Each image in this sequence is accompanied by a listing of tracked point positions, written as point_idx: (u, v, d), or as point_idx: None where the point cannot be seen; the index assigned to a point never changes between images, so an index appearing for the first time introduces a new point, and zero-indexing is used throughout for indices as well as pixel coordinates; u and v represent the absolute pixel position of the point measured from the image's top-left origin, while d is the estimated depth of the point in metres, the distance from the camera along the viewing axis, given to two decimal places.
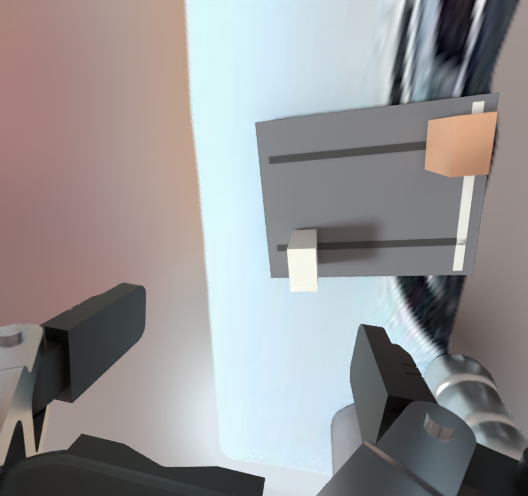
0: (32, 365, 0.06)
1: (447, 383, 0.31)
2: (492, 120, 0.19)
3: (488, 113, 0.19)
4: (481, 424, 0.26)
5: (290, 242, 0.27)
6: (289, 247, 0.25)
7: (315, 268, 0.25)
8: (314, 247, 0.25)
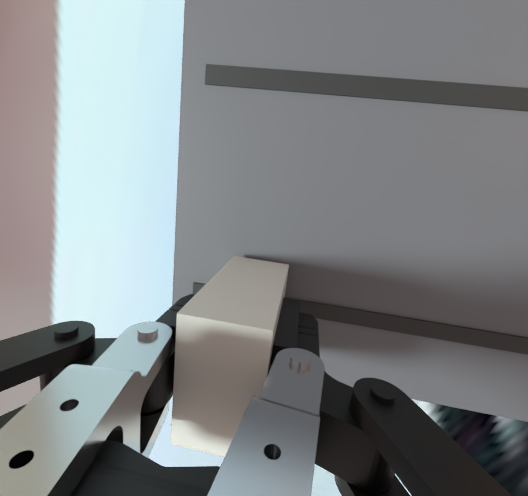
0: (149, 369, 0.06)
1: None
2: None
3: None
4: None
5: (206, 288, 0.09)
6: (190, 306, 0.08)
7: None
8: (269, 325, 0.07)
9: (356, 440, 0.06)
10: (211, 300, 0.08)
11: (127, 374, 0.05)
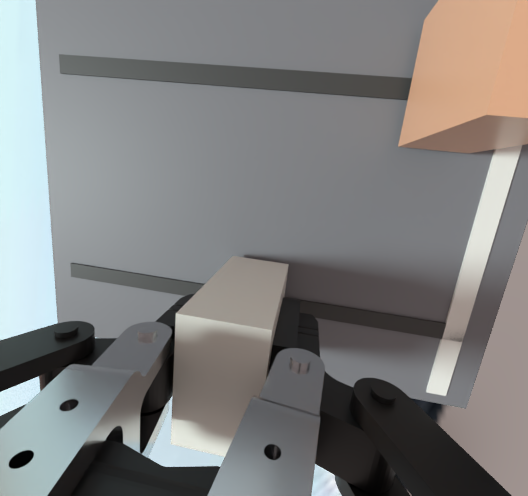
0: (149, 369, 0.06)
1: None
2: None
3: None
4: None
5: (205, 288, 0.09)
6: (189, 306, 0.08)
7: (259, 394, 0.07)
8: (268, 324, 0.07)
9: (356, 440, 0.06)
10: (210, 300, 0.08)
11: (127, 374, 0.05)
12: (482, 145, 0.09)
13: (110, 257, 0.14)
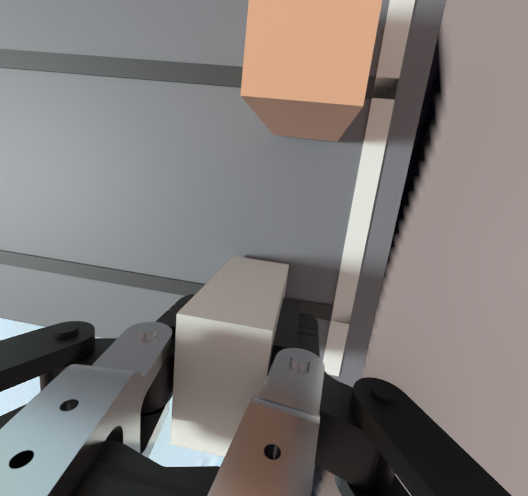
0: (150, 369, 0.06)
1: None
2: None
3: None
4: None
5: (206, 288, 0.09)
6: (190, 306, 0.08)
7: None
8: (269, 325, 0.07)
9: (356, 440, 0.06)
10: (211, 300, 0.08)
11: (127, 374, 0.05)
12: (323, 131, 0.09)
13: (24, 243, 0.15)
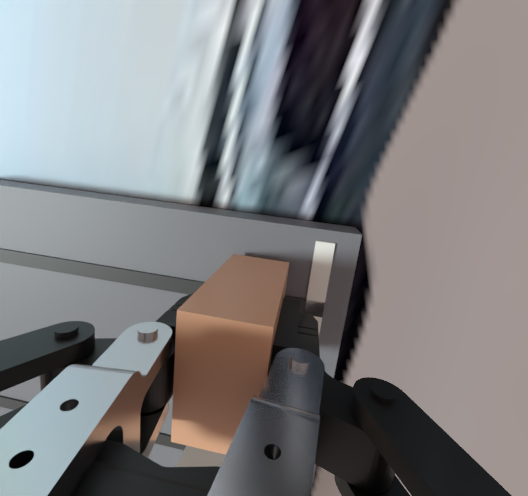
0: (149, 369, 0.06)
1: None
2: (261, 344, 0.07)
3: (251, 325, 0.07)
4: None
5: None
6: None
7: None
8: None
9: (356, 440, 0.06)
10: None
11: (127, 374, 0.05)
12: None
13: (18, 391, 0.17)
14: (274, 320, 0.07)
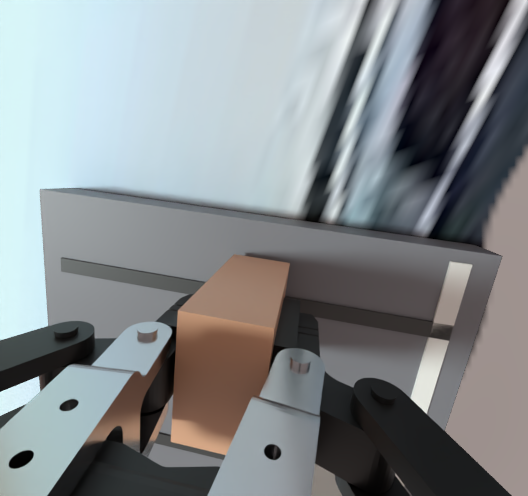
0: (149, 369, 0.06)
1: None
2: (262, 345, 0.07)
3: (252, 326, 0.07)
4: None
5: None
6: None
7: None
8: None
9: (356, 440, 0.06)
10: None
11: (127, 374, 0.05)
12: None
13: None
14: (275, 321, 0.07)
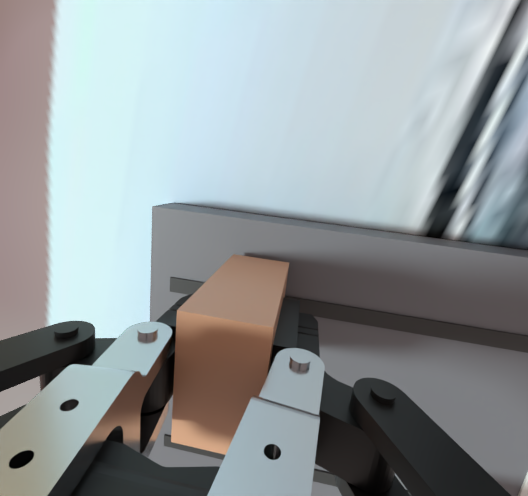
0: (149, 369, 0.06)
1: None
2: (261, 344, 0.07)
3: (252, 325, 0.07)
4: None
5: None
6: None
7: None
8: None
9: (356, 440, 0.06)
10: None
11: (127, 374, 0.05)
12: None
13: None
14: (274, 320, 0.07)
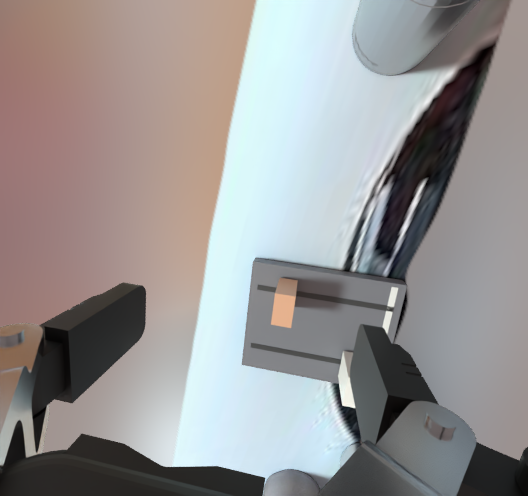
0: (32, 365, 0.06)
1: None
2: (293, 300, 0.34)
3: (291, 296, 0.34)
4: None
5: (347, 368, 0.37)
6: (349, 375, 0.35)
7: None
8: None
9: None
10: None
11: (16, 370, 0.05)
12: None
13: (265, 341, 0.42)
14: (295, 295, 0.34)
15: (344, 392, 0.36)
